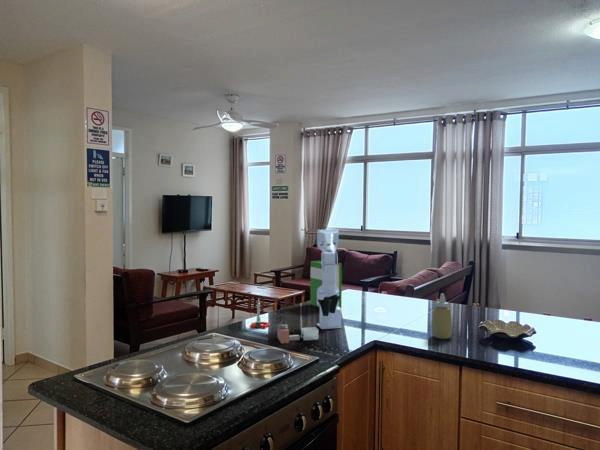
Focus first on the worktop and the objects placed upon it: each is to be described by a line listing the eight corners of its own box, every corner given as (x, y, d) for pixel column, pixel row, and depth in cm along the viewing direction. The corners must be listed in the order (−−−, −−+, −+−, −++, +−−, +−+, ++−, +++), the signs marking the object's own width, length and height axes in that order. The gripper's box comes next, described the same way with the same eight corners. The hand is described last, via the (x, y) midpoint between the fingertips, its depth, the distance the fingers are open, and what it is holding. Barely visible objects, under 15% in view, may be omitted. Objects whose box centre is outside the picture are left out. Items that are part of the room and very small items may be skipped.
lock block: (315, 336, 176) (315, 327, 176) (318, 339, 173) (318, 329, 172) (301, 337, 175) (301, 327, 175) (303, 340, 171) (303, 330, 171)
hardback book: (341, 308, 229) (341, 263, 228) (330, 310, 225) (331, 264, 224) (320, 302, 243) (321, 260, 243) (310, 304, 239) (310, 261, 238)
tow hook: (253, 323, 198) (248, 328, 189) (254, 295, 199) (249, 298, 189) (271, 324, 197) (267, 329, 188) (272, 296, 197) (267, 299, 188)
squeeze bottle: (452, 335, 179) (452, 292, 179) (452, 341, 172) (453, 296, 171) (431, 333, 182) (432, 291, 182) (431, 338, 174) (431, 294, 174)
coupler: (296, 336, 177) (296, 321, 176) (301, 342, 169) (301, 327, 169) (276, 337, 175) (276, 323, 174) (280, 343, 167) (280, 328, 167)
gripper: (328, 278, 183) (328, 309, 184) (311, 282, 171) (311, 316, 171) (343, 279, 180) (343, 311, 180) (327, 284, 167) (327, 319, 168)
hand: (328, 314), depth 175 cm, fingers open, 5 cm apart
